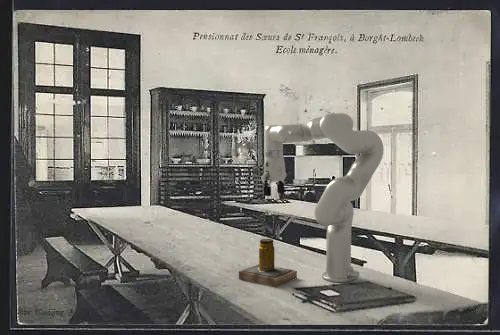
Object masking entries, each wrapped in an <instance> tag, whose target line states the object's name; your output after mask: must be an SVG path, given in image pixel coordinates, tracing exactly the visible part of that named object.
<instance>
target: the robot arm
mask: <svg viewBox="0 0 500 335" xmlns="http://www.w3.org/2000/svg"><path fill="white" fill-rule="evenodd" d="M353 128H354V121H353V118H352V117H351V116H350V115H349V114H346V113H340V112H339V113H338V112H337V113H336V112H334V113H333V112H332V113H327V114H326V115H324V116H319V117H315V118H313V119H312V120H310V122H306V123H305V122H304V123H299V124H282V125H280V124H278V125H277V124H269V125H266V126H265V127H264V144H265V145H264V146H265V148H264V155H265V156H264V165H263V174H262V176H261V177H260V178H261V182H262V183H261V184H262V187H263V195H264V196H265V197H272V186H271V185H272V183H273V182H274V183H275V182H277V186H276V188H277V189H276V190H277V194H285V184H286V179H287V172H286V162H285V158H284V144H292V143H302V142H309V141H314V140H317V141H318V140H323V139H329V141H331V142H332V143H333V144H335V145H336V146H337V147H338V148H340V150H342V151H343V152H345V153H346V154H349V155H359V156H358V157H357V158H356V159H355V161H354V162H352V164H351V167H350V168H349V170H348V172H347V173H346V174H345V175H344V176H341V177H336V178H334V179H333V180H331V181H330V182H329V183H328V185H327V186H326V187H325V189H324V190H323V193H322V194H321V196H320V198H319V200H318V202H317V204H316V206H315V208H314V217H315V220H316V222H317V223H318V224H319V225H320V226H323V227H327V229H326V239H325V240H326V244H325V246H326V252H325V253H326V258H325V259H326V262H325V263H326V265H325V266H326V267H325V268H326V270H325V272H322V278H323V279H324V280H326V281H329V282H333V283H346V282H352V281H354V280H355V279H356V278H357V279H358V278H360V271H357V270H354V267H353V266H352V226H353V219H354V213H355V211H354V206H353V204H352V202H353V201H356V200H358V199H360V197H361V196H362V195H363V193H364V192H365V190H366V188H367V187H368V184H369V183H370V181H371V179H372V178H373V175H374V174H375V172H376V170H377V169H378V167H379V166H380V164H381V161H382V159H383V157H384V151H385V150H384V144H383V140H382V138H381V137H380V136H379V134H377V133H376V132H375V131H372V130H370V129H369V130H367V129H364V130H363V129H362V130H361V129H360V130H354V129H353Z"/></svg>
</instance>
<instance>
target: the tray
mask: <svg viewBox="0 0 500 335" xmlns="http://www.w3.org/2000/svg"><path fill="white" fill-rule="evenodd" d="M258 267H259V263H258V264H256V265H252V266H251V267H248V268H245V269H242V270H239V271H238V279H239V280H241V281H247V282H250V283H255V284H259V285H265V286H269V287H273V288H274V287H275V288H278V287H280V286H282V285H285V284H287V283H290V282H292V281H294V280H296V279H298V278H297V277H298V272H297V270H294V269H291V268H290V269H289V268H284V267H279V266H278V267H279V269H280V270H281V271H277V272H259V270H258ZM274 267H276V266H275V265H274ZM295 278H296V279H295ZM293 279H294V280H293ZM291 280H292V281H291ZM289 281H290V282H289Z"/></svg>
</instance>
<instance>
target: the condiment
mask: <svg viewBox="0 0 500 335" xmlns="http://www.w3.org/2000/svg"><path fill="white" fill-rule="evenodd" d="M258 264H259V267H258V270H259V272H277V271H281V270H280V269H279V266H275V246H274V240H273V239H271V238H262V239H260V240H259V247H258ZM274 266H275V267H274Z"/></svg>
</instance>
